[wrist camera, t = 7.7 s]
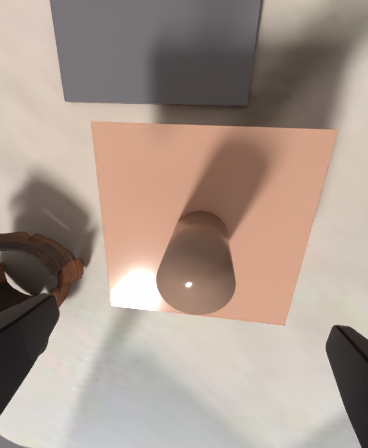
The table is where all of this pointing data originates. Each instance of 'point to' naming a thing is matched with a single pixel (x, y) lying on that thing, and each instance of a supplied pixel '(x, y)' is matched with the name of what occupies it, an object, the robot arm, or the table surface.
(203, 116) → the table surface
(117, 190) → the lid
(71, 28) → the mat
